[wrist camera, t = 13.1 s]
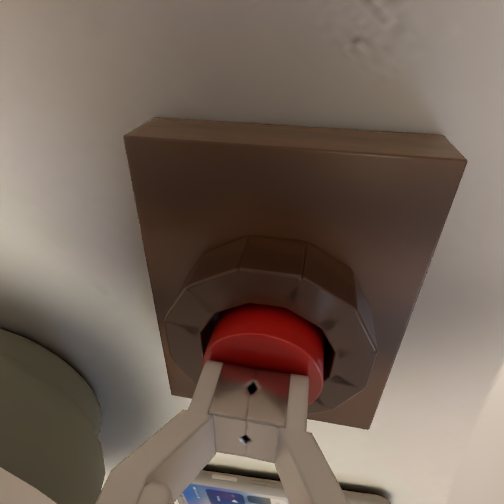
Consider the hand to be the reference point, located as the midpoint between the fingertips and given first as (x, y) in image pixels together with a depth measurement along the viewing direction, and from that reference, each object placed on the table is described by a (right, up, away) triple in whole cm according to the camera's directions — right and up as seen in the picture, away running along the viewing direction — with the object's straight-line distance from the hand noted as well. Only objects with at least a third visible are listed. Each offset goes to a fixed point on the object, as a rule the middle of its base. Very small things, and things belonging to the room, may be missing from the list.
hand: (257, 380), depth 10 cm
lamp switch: (+1, +3, +4) cm, 5 cm away
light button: (0, +1, +1) cm, 2 cm away
